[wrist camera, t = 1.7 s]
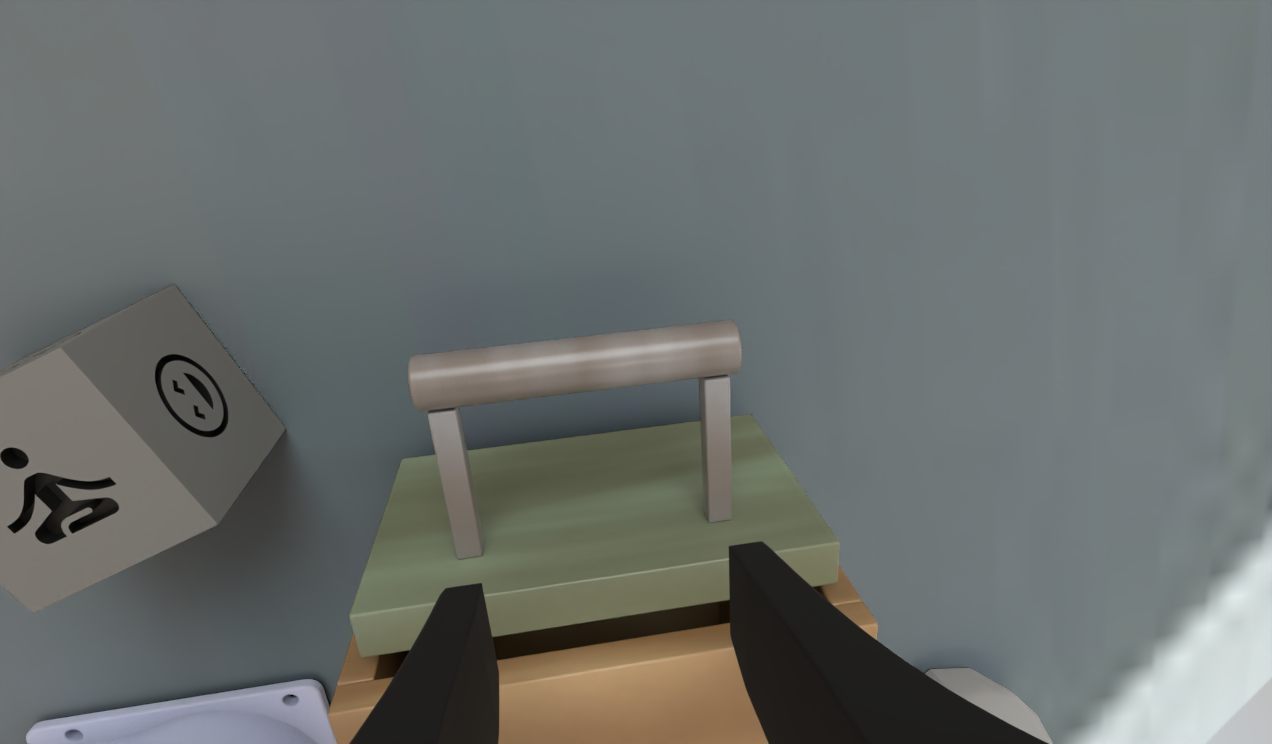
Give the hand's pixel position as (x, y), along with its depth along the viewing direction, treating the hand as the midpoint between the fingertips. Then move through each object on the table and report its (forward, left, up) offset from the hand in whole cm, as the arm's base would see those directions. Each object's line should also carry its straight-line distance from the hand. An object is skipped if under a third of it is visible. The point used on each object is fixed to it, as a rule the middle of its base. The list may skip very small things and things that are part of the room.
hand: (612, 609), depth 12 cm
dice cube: (-12, +1, -11) cm, 16 cm away
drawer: (0, -5, -10) cm, 11 cm away
